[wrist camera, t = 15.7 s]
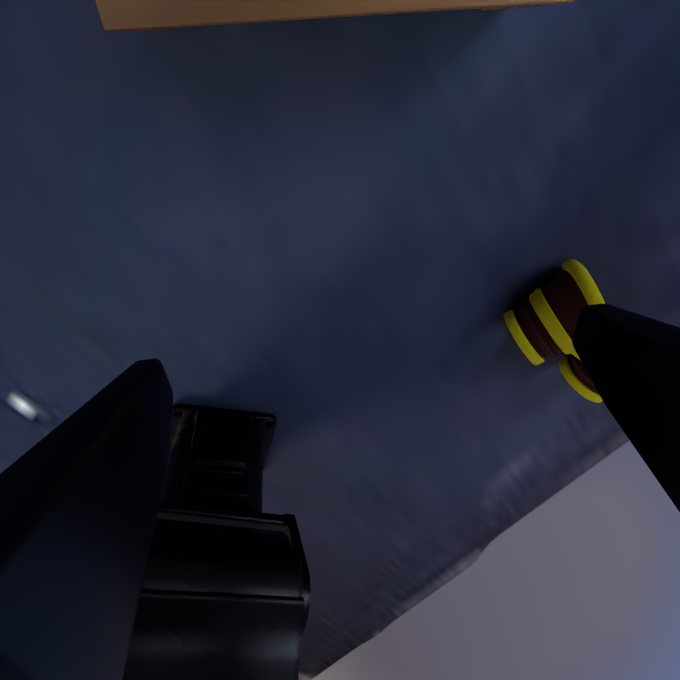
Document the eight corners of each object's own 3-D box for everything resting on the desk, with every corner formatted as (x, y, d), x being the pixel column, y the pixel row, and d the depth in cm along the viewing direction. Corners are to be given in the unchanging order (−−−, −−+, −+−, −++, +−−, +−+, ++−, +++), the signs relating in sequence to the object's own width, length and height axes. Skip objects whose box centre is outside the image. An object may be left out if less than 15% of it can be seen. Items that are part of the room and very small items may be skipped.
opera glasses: (485, 301, 26) (510, 362, 22) (563, 239, 23) (606, 298, 19) (575, 364, 30) (608, 423, 26) (650, 318, 27) (699, 378, 23)
